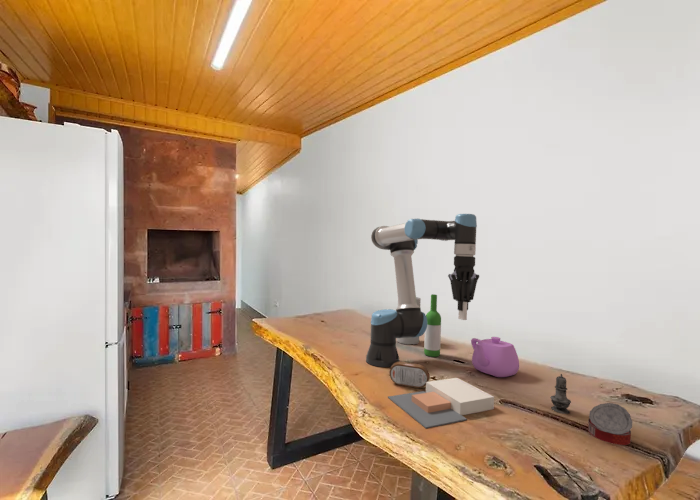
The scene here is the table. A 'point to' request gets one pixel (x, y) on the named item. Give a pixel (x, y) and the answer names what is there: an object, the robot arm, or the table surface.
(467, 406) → the plate
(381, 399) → the table surface
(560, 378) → the dark grey turned piece
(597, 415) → the canned food
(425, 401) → the tile
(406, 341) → the cylinder vase
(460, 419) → the mat
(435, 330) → the wine bottle
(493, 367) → the teapot
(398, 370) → the tin
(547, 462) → the table surface
